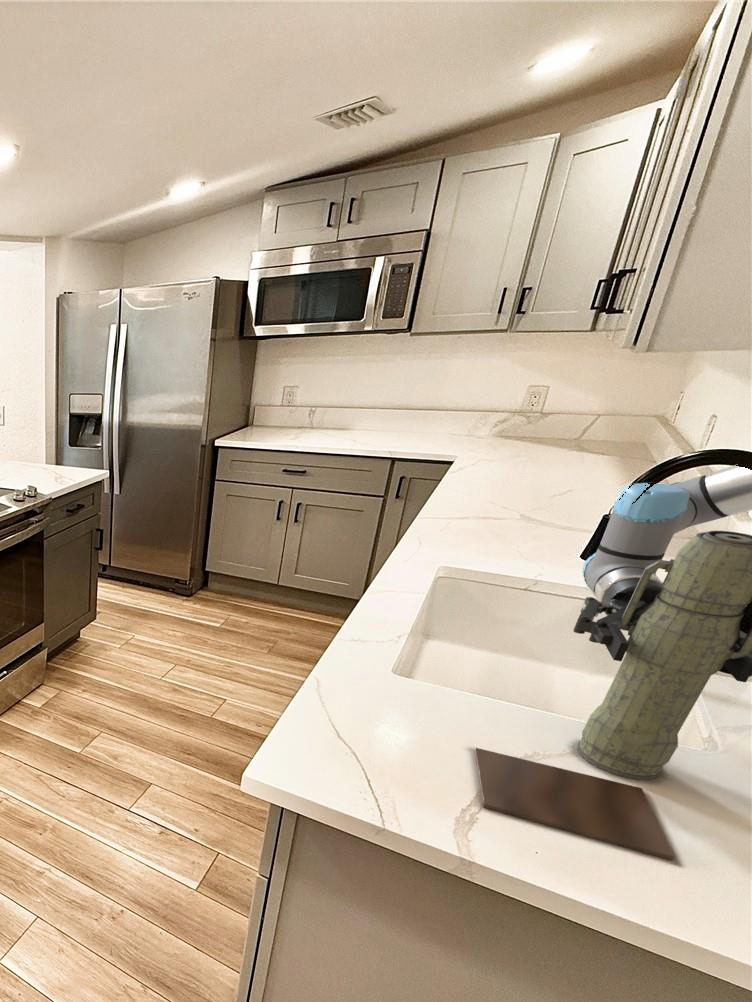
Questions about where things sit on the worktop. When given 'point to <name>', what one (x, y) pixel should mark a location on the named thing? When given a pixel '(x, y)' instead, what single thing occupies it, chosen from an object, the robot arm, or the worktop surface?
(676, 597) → the thermos
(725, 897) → the worktop surface
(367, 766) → the worktop surface
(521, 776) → the board
